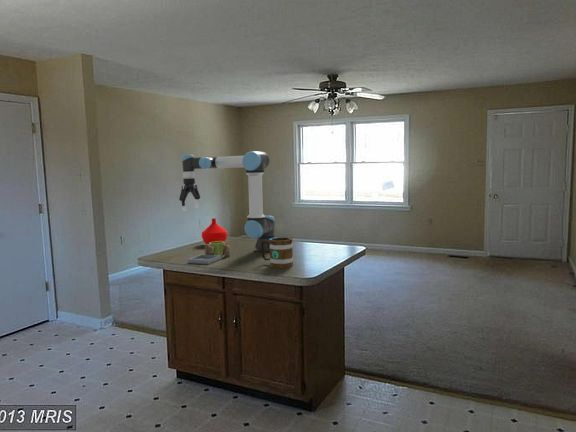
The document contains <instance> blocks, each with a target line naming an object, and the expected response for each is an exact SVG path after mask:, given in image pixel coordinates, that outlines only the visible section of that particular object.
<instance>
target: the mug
mask: <svg viewBox="0 0 576 432" xmlns="http://www.w3.org/2000/svg"><path fill="white" fill-rule="evenodd" d="M264 242H266V243H267V244H268V245H270V252H268V253H269V257H268V258H267V257H266V252H264ZM261 248H262V252H261V256H262V259H263V260H264V261H270V262H269V267H270V268H274V269H288V268H292V267H293V266H294V259H293V258H294V251H293V237H284V236H282V237H275V238H270V239H269V241H267V240H263V241H262V243H261Z"/></svg>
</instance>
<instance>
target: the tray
mask: <svg viewBox="0 0 576 432" xmlns="http://www.w3.org/2000/svg"><path fill="white" fill-rule="evenodd" d="M221 260H222V256H220V255H205V254H202V253H201V254H198V255H195V256H192V257H189V258H188V259H187V263H188V264H195V265H196V264H197V265H212V264H214V263H216V262H218V261H221Z"/></svg>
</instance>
